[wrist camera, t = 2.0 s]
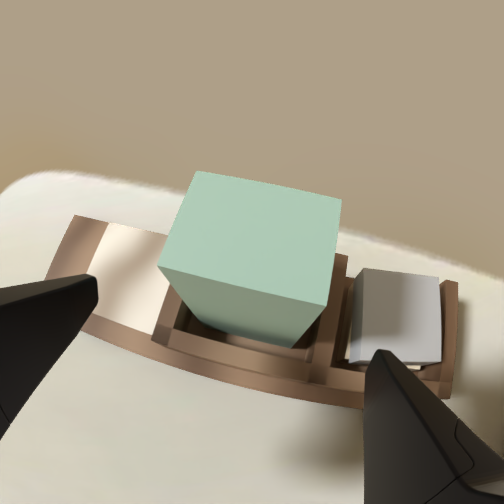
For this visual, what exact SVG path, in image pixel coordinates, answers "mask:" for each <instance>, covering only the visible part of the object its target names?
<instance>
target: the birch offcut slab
mask: <svg viewBox="0 0 504 504" xmlns="http://www.w3.org/2000/svg"><path fill="white" fill-rule="evenodd" d="M352 307H353V283H352V285H351V286H350V287H349V289H348V296H347V303H346V309H345V316H344V322H343V328H342V333H341V339H340V344H339V350H338V355H337V360H336V362H341V363H346V364H349V355H350V342H351V326H352ZM352 365H358V366H364V367H368V364H352ZM407 367H408V368H409V369H410V370H411V371H415V370H420V366H407Z"/></svg>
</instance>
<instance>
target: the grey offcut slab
mask: <svg viewBox="0 0 504 504" xmlns="http://www.w3.org/2000/svg"><path fill="white" fill-rule="evenodd" d="M377 349H385V350H390V351H391V352H392V353H393V354H394V355H395V356H396V357H397V358H398V359H399V360H400V361H402V362H403V363H404V364H405V365H406V366H424V365H429V364H433V363H437V362H441V306H440V289H439V277H432V276H424V275H416V274H408V273H400V272H392V271H384V270H376V269H368V268H363V269H362V271H361V272H360V273H359V274H358V275H357V277H356V278H355V279H354V280H353V307H352V326H351V342H350V355H349V364H368V365H369V363H370V361H371V359H372V357H373V355H374V353H375V351H376V350H377Z"/></svg>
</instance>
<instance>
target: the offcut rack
mask: <svg viewBox="0 0 504 504" xmlns="http://www.w3.org/2000/svg"><path fill="white" fill-rule="evenodd" d="M167 238H168V235H164V234H159V233H155V232H151V231H146V230H142V229H137V228H133V227H129V226H124V225H120V224H116V223H111V222H109V223H108V222H103V221H99V220H95V219H91V218H86V217H82V216H78V215H74V217H73V219H72V221H71V223H70V225H69V227H68V229H67V231H66V233H65V235H64V237H63V239H62V241H61V243H60V245H59V248H58V250H57V252H56V254H55V256H54V259H53V261H52V263H51V266H50V268H49V270H48V273H47V275H46V277H45V280H51V279H56V278H62V277H68V276H74V275H80V274H89V275H92V276H95V277H96V278H97V282H98V295H99V300H98V304H97V306H96V308H95V309H94V310H93V312H92V313H91V315H90V316H89V318H88V319H87V321H86V322H85V324H84V325H83V327H82V328H81V331H83V332H86V333H88V334H90V335H92V336H95V337H97V338H99V339H102V340H104V341H106V342H109V343H111V344H114V345H116V346H118V347H121V348H124V349H126V350H129V351H131V352H134V353H136V354H139V355H142V356H144V357H147V358H150V359H153V360H156V361H158V362H161V363H164V364H167V365H170V366H173V367H176V368H179V369H182V370H185V371H189V372H192V373H195V374H198V375H202V376H205V377H208V378H212V379H215V380H219V381H222V382H226V383H230V384H234V385H237V386H241V387H245V388H249V389H254V390H258V391H262V392H266V393H271V394H275V395H280V396H285V397H290V398H295V399H300V400H306V401H311V402H317V403H323V404H329V405H336V406H343V407H350V408H358V409H363V405H364V385H365V373H366V370H367V367H364V366H358V365H352V364H346V363H341V362H336V360H337V355H338V350H339V344H340V339H341V333H342V328H343V322H344V316H345V309H346V303H347V296H348V289H349V287H350V286H351V285H352V283H353V280H354V278H350V277H346V269H347V262H348V256H346V255H342V254H338V253H335V257H334V264H333V270H332V277H331V283H330V289H329V295H328V301H327V306H326V307H325V309H324V310H323V311H322V312H321V313H320V315H319V316H318V317H317V318H316V320H315V321H314V322H313V323H312V324H311V325H310V327H309V328H308V329H307V330H306V331H305V333H304V334H303V335H302V336H301V337H300V338H299V339H298V341H297V342H296V343H295V344H294V345H293V346H292V348H291V349H290V348H286V347H281V346H277V345H272V344H268V343H264V342H259V341H255V340H251V339H247V338H243V337H239V336H235V335H231V334H228V333H224V332H220V331H216V330H213V329H209V328H205V327H204V326H203V325H202V324H201V322H200V321H199V320H198V319H197V317H196V316H195V315H194V314H193V312H192V311H191V310H190V309H189V307H188V306H187V305H186V304H185V302H184V301H183V300H182V298H181V297H180V296H179V295H178V293H177V292H176V291H175V289H174V288H173V287H172V285H171V284H170V283H169V281H168V280H167V279H166V277H165V276H164V275H163V273H162V272H161V271H160V269H159V268H158V267H157V263H158V260H159V258H160V255H161V252H162V250H163V247H164V245H165V242H166V240H167ZM45 280H44V281H45ZM439 289H440V306H441V362H437V363H433V364H429V365H424V366H420V370H415V371H412V372H413V373H414V374H415V375H416V376H417V377H418V378H419V379H420V380H421V381H422V382H423V383H424V384H425V385H426V386H427V387H428V388H429V389H430V390H431V391H432V392H433V393H434V394H435V395H436V396H437V397H438V398H439V399H450V395H451V388H452V381H453V373H454V364H455V354H456V341H457V324H458V282H454V281H450V280H445V281H444V282H442V283H441V284H440V285H439Z"/></svg>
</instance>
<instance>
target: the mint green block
mask: <svg viewBox="0 0 504 504" xmlns="http://www.w3.org/2000/svg"><path fill="white" fill-rule="evenodd" d="M341 202H342V200H341V199H337V198H333V197H328V196H324V195H320V194H315V193H311V192H307V191H302V190H297V189H292V188H288V187H283V186H278V185H273V184H268V183H263V182H258V181H252V180H247V179H242V178H237V177H231V176H226V175H219V174H214V173H208V172H202V171H196V173H195V176H194V178H193V180H192V182H191V184H190V187H189V189H188V191H187V193H186V195H185V198H184V200H183V202H182V204H181V207H180V209H179V211H178V214H177V216H176V218H175V221H174V223H173V225H172V228H171V230H170V233H169V235H168V238H167V240H166V242H165V245H164V247H163V250H162V252H161V255H160V258H159V260H158V263H157V267H158V268H159V269H160V271H161V272H162V273H163V275H164V276H165V277H166V279H167V280H168V281H169V283H170V284H171V285H172V287H173V288H174V289H175V291H176V292H177V293H178V295H179V296H180V297H181V298H182V300H183V301H184V302H185V304H186V305H187V306H188V307H189V309H190V310H191V311H192V312H193V314H194V315H195V316H196V317H197V319H198V320H199V321H200V322H201V324H202V325H203V326H204V327H205V328H209V329H213V330H216V331H220V332H224V333H228V334H231V335H235V336H239V337H243V338H247V339H251V340H255V341H259V342H264V343H268V344H272V345H277V346H281V347H286V348H290V349H291V348H292V346H293V345H294V344H295V343H296V342H297V341H298V339H299V338H300V337H301V336H302V335H303V334H304V333H305V331H306V330H307V329H308V328H309V327H310V325H311V324H312V323H313V322H314V321H315V320H316V318H317V317H318V316H319V315H320V313H321V312H322V311H323V310H324V309H325V307H326V306H327V301H328V295H329V289H330V283H331V277H332V270H333V264H334V257H335V250H336V243H337V236H338V228H339V219H340V210H341Z"/></svg>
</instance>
